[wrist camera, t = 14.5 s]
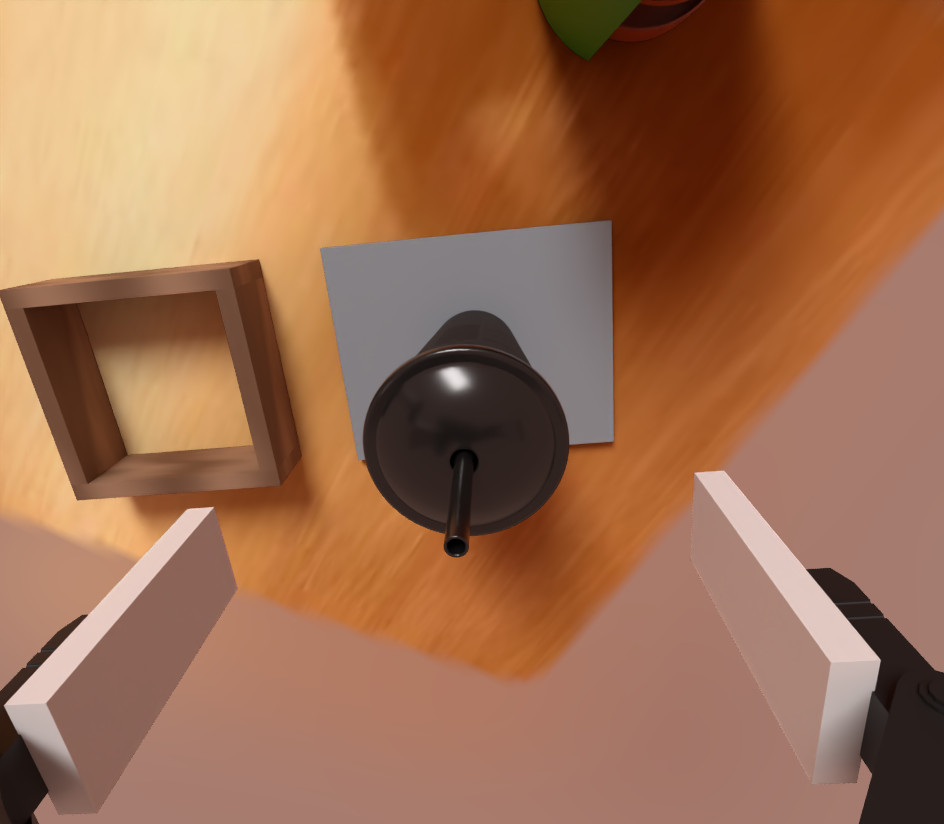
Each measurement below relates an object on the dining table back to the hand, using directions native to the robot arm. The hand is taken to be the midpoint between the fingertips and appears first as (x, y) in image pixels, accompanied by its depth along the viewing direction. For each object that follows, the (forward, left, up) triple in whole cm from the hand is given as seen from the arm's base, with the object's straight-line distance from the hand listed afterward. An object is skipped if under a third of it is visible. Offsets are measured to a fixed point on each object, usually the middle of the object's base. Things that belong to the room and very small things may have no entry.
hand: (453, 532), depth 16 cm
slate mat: (0, 0, -20) cm, 20 cm away
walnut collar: (-18, 0, -20) cm, 27 cm away
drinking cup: (0, 0, -20) cm, 20 cm away
